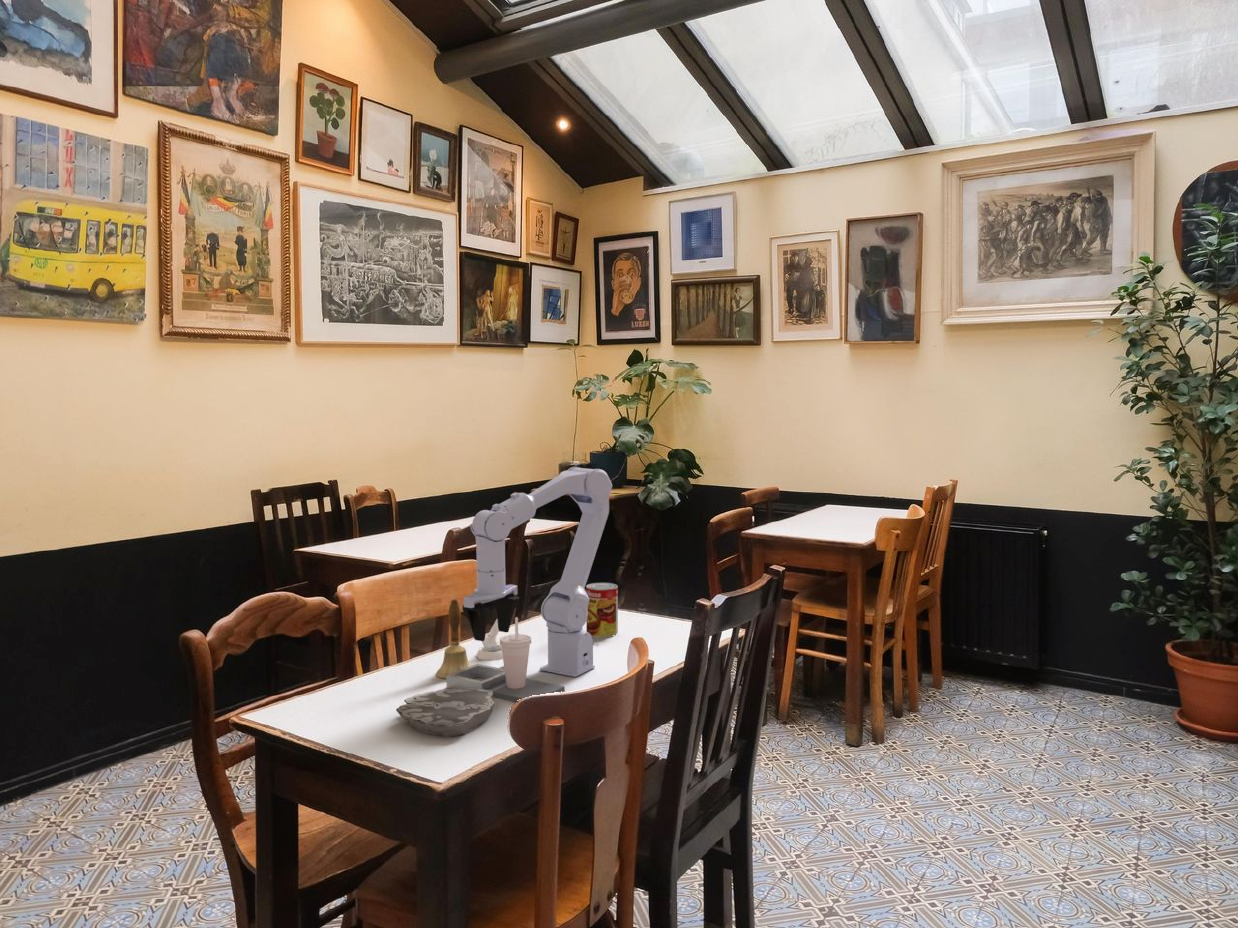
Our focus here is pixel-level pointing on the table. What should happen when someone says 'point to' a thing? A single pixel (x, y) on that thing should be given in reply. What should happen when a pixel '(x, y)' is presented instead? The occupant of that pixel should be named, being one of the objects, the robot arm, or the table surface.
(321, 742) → the table surface
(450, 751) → the table surface
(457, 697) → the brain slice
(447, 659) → the hand bell
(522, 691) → the mat
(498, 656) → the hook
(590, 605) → the canned food
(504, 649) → the smoothie
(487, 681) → the holder
